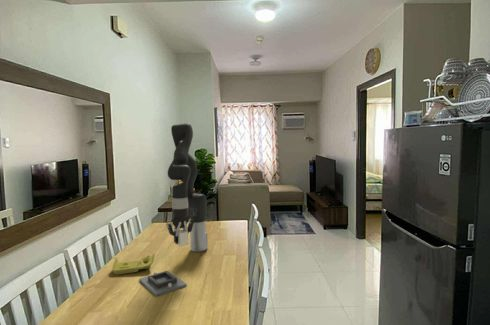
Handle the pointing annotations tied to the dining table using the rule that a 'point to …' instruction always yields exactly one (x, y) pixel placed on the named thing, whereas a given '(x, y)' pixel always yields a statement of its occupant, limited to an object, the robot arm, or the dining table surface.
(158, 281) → the housing plate
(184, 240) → the block
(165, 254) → the dining table surface
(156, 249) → the dining table surface
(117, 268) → the plastic component
